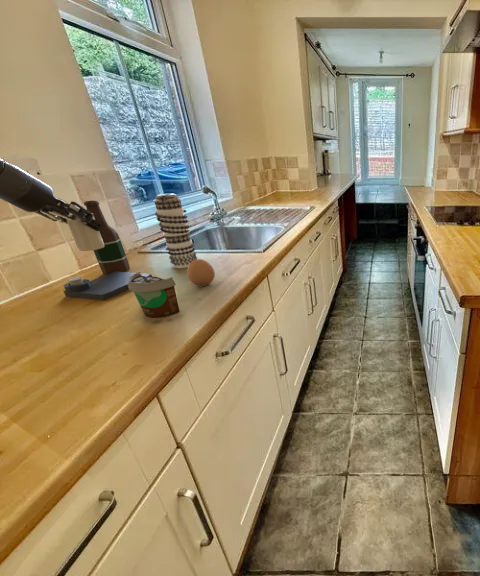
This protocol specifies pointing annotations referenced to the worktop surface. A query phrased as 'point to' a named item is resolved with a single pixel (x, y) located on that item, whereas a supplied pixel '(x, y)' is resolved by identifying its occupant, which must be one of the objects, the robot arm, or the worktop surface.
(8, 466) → the worktop surface
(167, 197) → the white patterned cylinder
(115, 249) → the beer bottle
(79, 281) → the tare button
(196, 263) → the egg
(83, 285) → the scale
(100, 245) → the cup
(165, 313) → the food container
